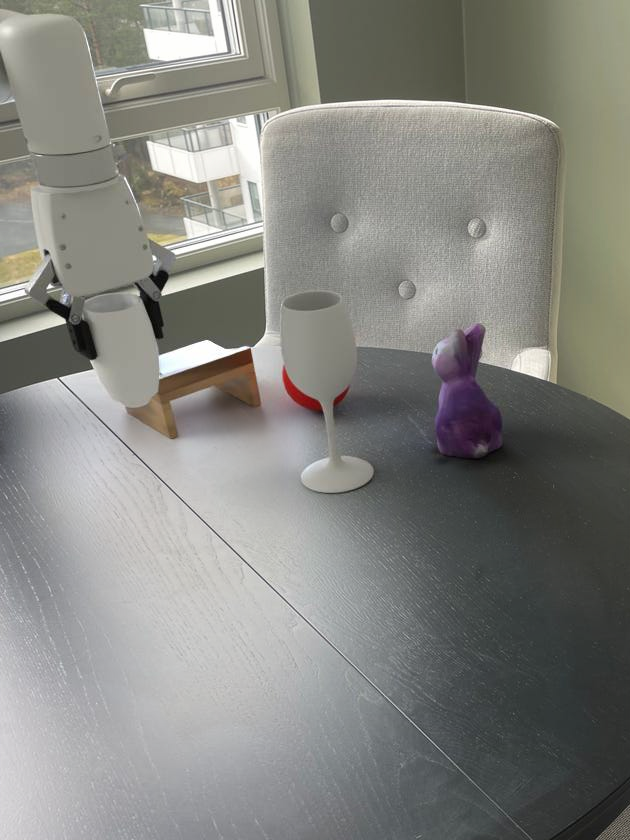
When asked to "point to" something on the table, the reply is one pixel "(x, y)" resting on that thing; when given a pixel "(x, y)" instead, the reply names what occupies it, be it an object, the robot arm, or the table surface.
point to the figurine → (464, 398)
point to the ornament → (305, 399)
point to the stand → (198, 380)
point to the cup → (123, 347)
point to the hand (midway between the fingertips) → (121, 344)
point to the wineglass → (322, 376)
